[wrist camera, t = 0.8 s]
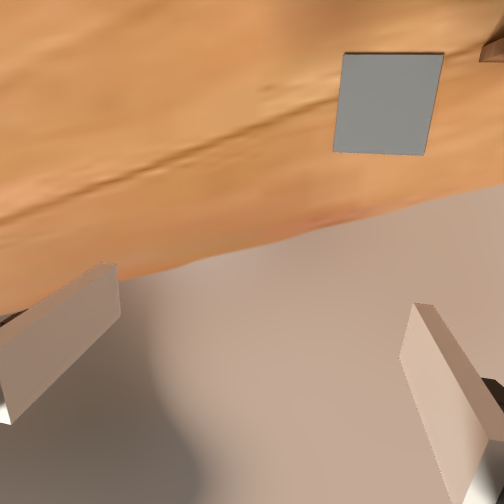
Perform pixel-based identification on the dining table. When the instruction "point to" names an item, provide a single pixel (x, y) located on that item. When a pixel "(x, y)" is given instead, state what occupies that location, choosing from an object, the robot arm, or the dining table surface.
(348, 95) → the slate mat
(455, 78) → the dining table surface
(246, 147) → the dining table surface
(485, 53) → the walnut cubby
